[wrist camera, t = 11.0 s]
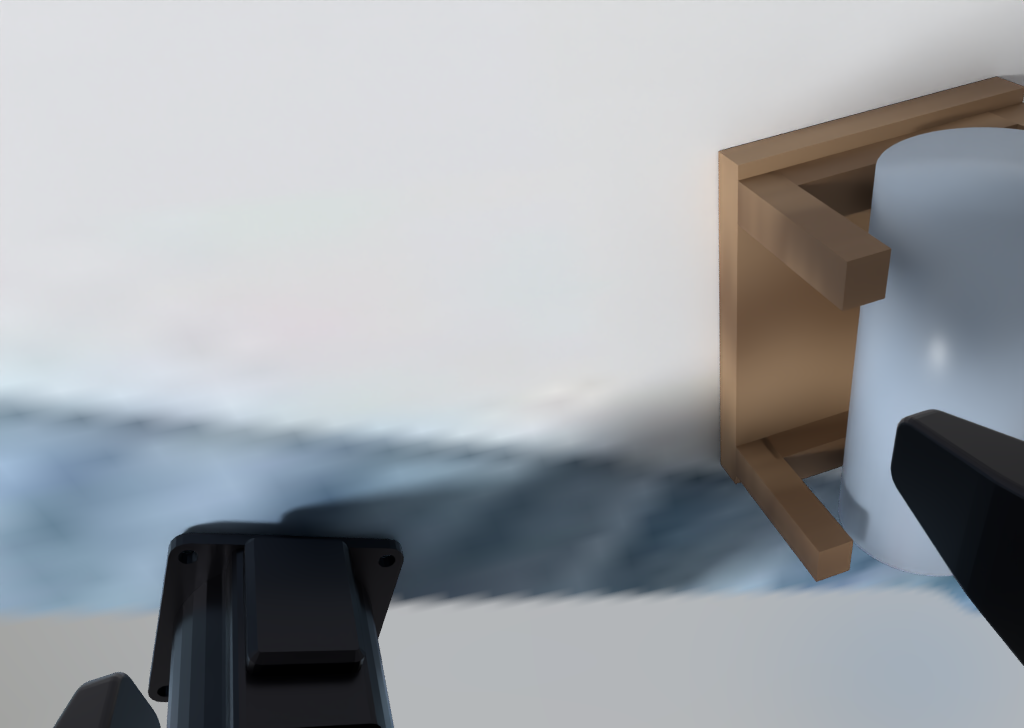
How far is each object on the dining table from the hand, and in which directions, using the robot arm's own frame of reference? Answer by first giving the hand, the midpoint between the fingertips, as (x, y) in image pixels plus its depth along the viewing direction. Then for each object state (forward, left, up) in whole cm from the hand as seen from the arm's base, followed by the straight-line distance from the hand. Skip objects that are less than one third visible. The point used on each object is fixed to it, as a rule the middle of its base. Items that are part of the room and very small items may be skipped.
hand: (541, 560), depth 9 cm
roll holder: (-1, -14, -12) cm, 19 cm away
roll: (-1, -14, -10) cm, 17 cm away
